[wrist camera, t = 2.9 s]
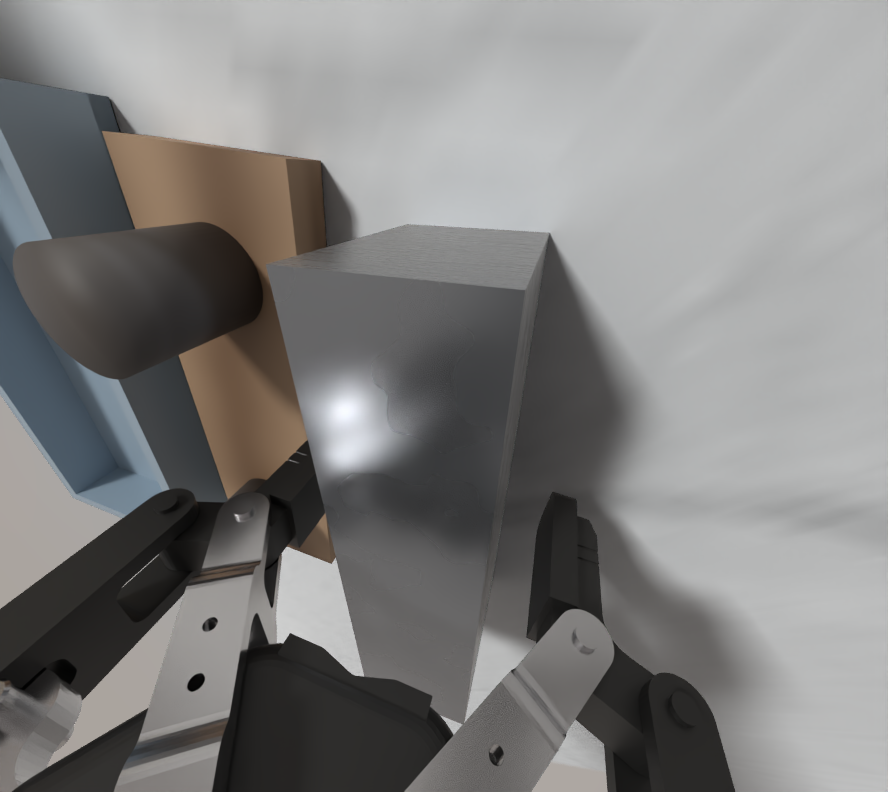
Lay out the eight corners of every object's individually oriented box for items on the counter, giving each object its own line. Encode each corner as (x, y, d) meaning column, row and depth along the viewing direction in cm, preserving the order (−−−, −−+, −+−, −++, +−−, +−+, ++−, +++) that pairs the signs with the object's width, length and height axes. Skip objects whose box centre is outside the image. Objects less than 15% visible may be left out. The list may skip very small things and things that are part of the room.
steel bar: (550, 232, 9) (525, 290, 4) (493, 575, 18) (463, 724, 13) (410, 223, 10) (266, 264, 5) (419, 553, 19) (366, 684, 14)
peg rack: (320, 160, 10) (116, 146, 6) (346, 540, 20) (280, 644, 15) (153, 136, 11) (-129, 107, 7) (256, 506, 21) (171, 594, 17)
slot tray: (108, 96, 11) (-26, 73, 8) (239, 508, 22) (198, 549, 19) (-89, 72, 13) (-246, 46, 10) (124, 464, 24) (73, 497, 21)
